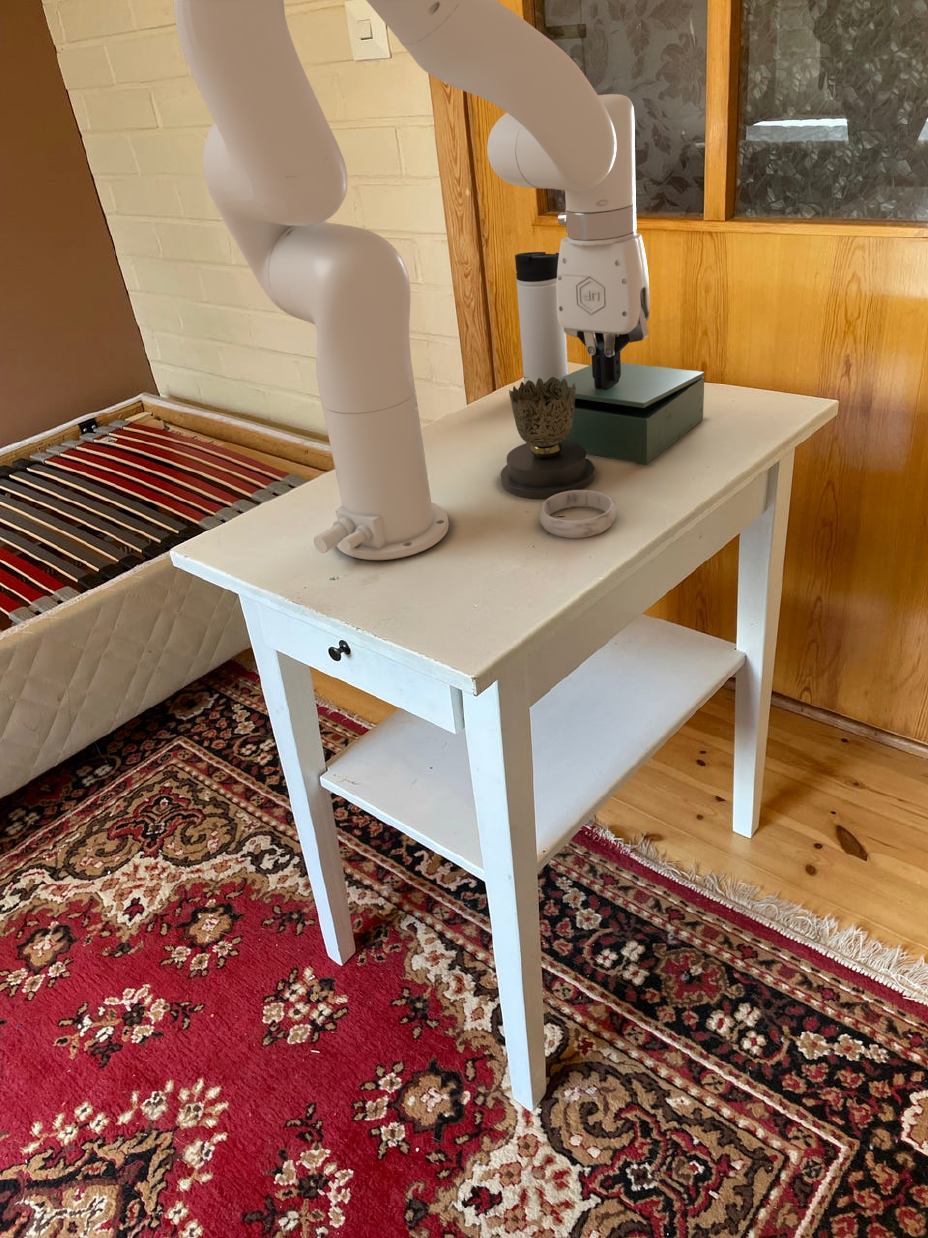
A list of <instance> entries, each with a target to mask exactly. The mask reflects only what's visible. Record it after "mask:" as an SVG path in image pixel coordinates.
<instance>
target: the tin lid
mask: <svg viewBox="0 0 928 1238" xmlns="http://www.w3.org/2000/svg"><path fill="white" fill-rule="evenodd" d="M702 377H704V378H705V371H699V370H692V369H691V370H689V369H681V368H672V367H663V366H655V365H645V364H638V363H628V362H621V376H620V379H619V382H618V383H617V384H615V385H614V386H612V387H611V388H609V389H608V390H605V389H603V388H600V389H597V388H595V386H594V378H593V375H592V364H590V365H586V366H585V367H582V368H580V369H578V370H576V371H573V372H570V373H568V375H566V376H563V377H561V378H559V380H560V382H561V381H562V380H563V379H566V380H567V385H568V386H569V387H571V389H572V384H574V383H575V387H576V391H575V398H576V399H583V400H591V401H598V402H605V403H612V404H619V405H626V406H633V407H640V408H644V407H646V406H648V405H650V404H652V403H654V402H656V401H658V400H660V399H662V398H664V397H666V396H668V395H670V394H671V393H673V392H675V391H677V390H679V389H681V388H683V387H685V386H687V385H689V384H691V383H693V382H695V381H697V380H699V379H700V378H702Z"/></svg>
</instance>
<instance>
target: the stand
mask: <svg viewBox="0 0 928 1238" xmlns="http://www.w3.org/2000/svg"><path fill="white" fill-rule="evenodd" d="M561 444H562V450H561V452H560V454H559V455H557V456H555V457H553V458H547V459H542V458H537V457H535V456H534V455H533V454H532V453H531V450H530V447H531V445H530V444H528V443H526V442H525V443H522V444H520V445H517V446H516V447H514V448H513V449H511V450H510V451H509V452H508V453H507V455H506V464H505V466H503V467H502V469H501V471H500V475H499V477H500V484H501V486H502V488H503V489H504V491H506V492H508V493H509V494H512V495H514V496H517V497H520V498H525V499H533V500H535V499H536V500H547V499H548V498H549V497H551V496H553V495H555V494H558V493H561V492H566V491H572V490H585V489H586V488H587V487H589V486H590V485H591V484H592V483H593V481H594V479H595V476H596V475H595V465H594V463H593V462H592V461H591V460H590V459H588V458H587V454H586V451H585V449H584V448H583V447H582V446H581V445H580V444H578V443H575V442H572V441H567V440H564V441H562V442H561Z"/></svg>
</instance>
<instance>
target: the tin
mask: <svg viewBox="0 0 928 1238" xmlns="http://www.w3.org/2000/svg"><path fill="white" fill-rule="evenodd" d="M704 401H705V376H704V377H702V378H700V379H699V380H697V381H695V382H693V383H691V384H689V385H687V386H685V387H683V388H681V389H679V390H677V391H675V392H673V393H671V394H670V395H668V396H666V397H664V398H662V399H660V400H658V401H656V402H654V403H652V404H650V405H648V406H646V407H644V408H640V407H633V406H626V405H619V404H612V403H605V402H598V401H591V400H583V399H576V398H575V407H574V419H573V425H572V429H571V432H570V434H569V435H568V437H567V438H566V439H565V440H567V441H572V442H575V443H578V444H580V445H581V446H582V447H583V448H584V449H585V451H586V455H592V456H596V457H601V458H602V457H603V458H607V459H608V458H609V459H612V460H613V459H614V460H619V461H625V462H629V463H636V464H641V465H648V464H650V463H651V462H652V461H654V460H655V459H656V458H657V457H658V456H660V455H661V454H662V453H663V452H665V451H666V450H667V449H668V448H670V447H671V446H672V445H673V444H675V443H676V442H677V441H678V440H680V439H681V438H682V437H683V436H685V435H686V434H687V433H688V432H689V431H691V430H692V429H693V428H695V427H696V426H697V425H698V424H700V423H701V422H702V421H703V420H704Z"/></svg>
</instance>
